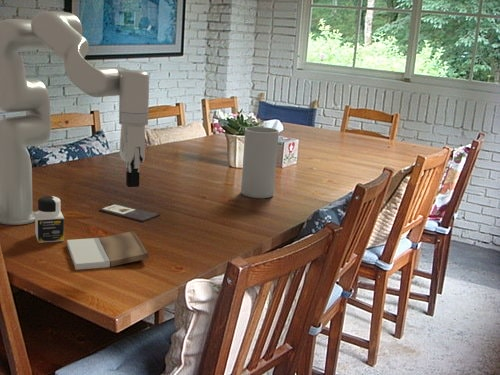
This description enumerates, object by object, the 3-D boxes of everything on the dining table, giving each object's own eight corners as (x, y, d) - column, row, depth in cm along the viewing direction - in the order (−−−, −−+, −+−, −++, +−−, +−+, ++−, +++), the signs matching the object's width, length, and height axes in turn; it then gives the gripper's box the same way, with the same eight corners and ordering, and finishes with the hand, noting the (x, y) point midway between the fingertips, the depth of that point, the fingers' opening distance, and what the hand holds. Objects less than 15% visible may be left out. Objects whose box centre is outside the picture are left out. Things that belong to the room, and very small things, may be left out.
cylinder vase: (236, 190, 248) (240, 126, 241) (267, 189, 252) (272, 126, 245) (246, 199, 236) (251, 132, 230) (278, 198, 240) (283, 133, 234)
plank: (111, 266, 167) (110, 261, 166) (99, 242, 183) (98, 237, 182) (148, 258, 170) (148, 252, 169) (134, 235, 186) (133, 230, 185)
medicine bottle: (37, 243, 179) (37, 202, 176) (35, 234, 186) (34, 195, 182) (64, 241, 182) (64, 200, 179) (60, 233, 188) (60, 193, 185)
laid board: (75, 269, 163) (75, 263, 163) (67, 245, 179) (67, 239, 179) (109, 267, 166) (109, 260, 166) (98, 243, 182) (98, 237, 182)
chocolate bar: (143, 220, 203) (99, 209, 211) (143, 223, 203) (99, 212, 211) (160, 214, 211) (117, 203, 219) (159, 216, 211) (117, 206, 219)
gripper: (113, 113, 173) (113, 179, 178) (125, 123, 160) (124, 194, 164) (141, 114, 176) (140, 178, 180) (154, 123, 162) (153, 192, 167)
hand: (132, 186), depth 172 cm, fingers closed
